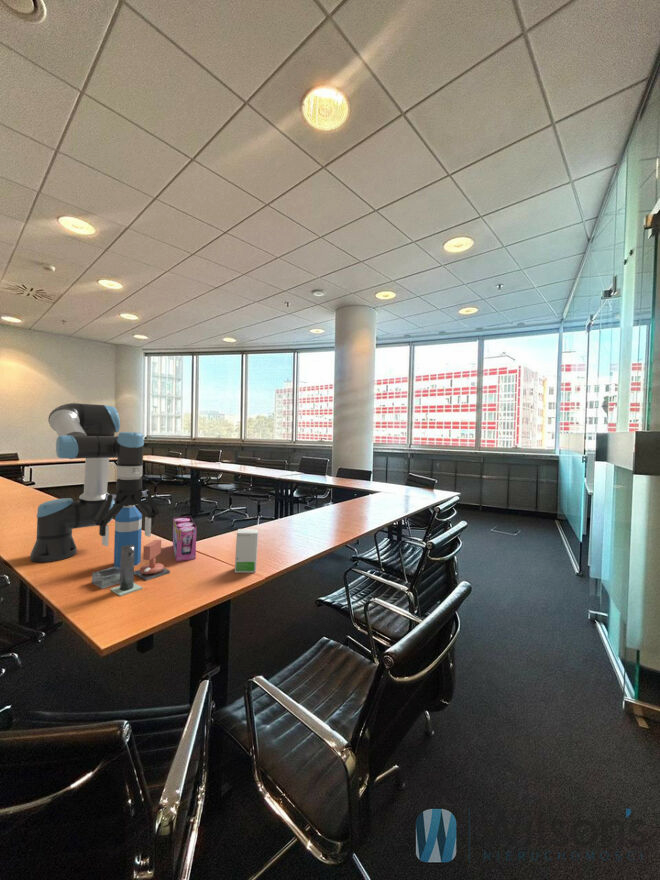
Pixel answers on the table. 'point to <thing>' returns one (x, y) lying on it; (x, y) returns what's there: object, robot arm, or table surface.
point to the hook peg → (127, 567)
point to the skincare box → (246, 551)
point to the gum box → (184, 538)
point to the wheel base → (151, 576)
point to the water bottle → (128, 533)
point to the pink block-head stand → (152, 558)
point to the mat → (120, 592)
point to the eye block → (106, 577)
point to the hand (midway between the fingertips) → (127, 540)
